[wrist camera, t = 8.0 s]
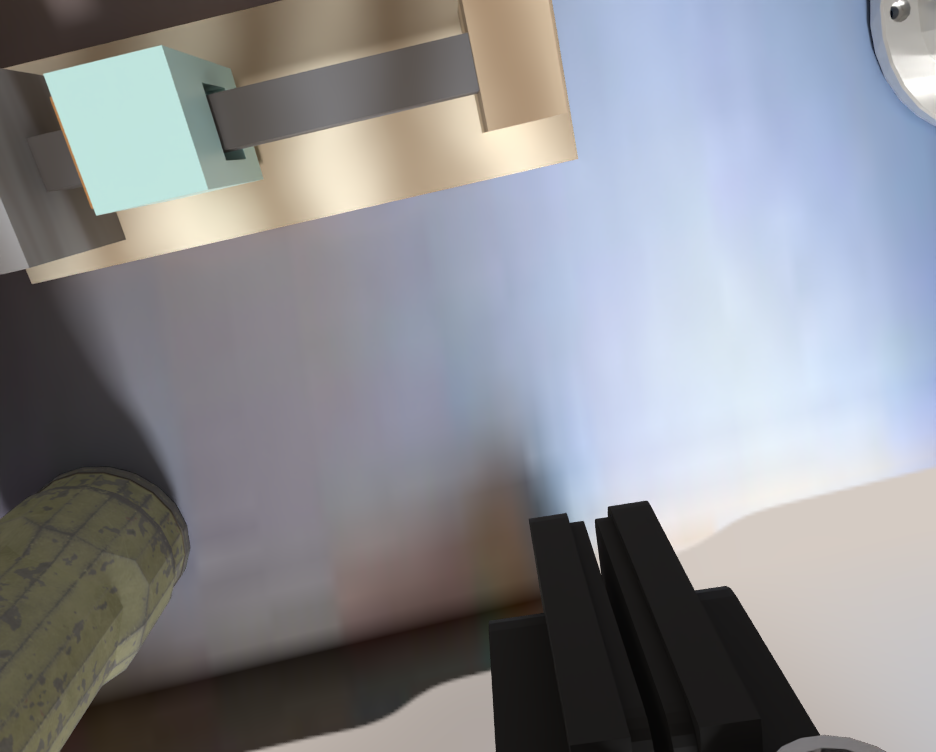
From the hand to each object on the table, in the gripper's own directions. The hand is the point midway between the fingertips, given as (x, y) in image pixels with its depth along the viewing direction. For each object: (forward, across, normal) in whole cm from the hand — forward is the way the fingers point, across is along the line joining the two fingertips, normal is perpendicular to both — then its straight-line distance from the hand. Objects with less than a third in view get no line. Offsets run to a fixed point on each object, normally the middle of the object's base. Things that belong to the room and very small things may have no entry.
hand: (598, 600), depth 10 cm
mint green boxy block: (+24, +12, -8) cm, 28 cm away
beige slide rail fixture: (+26, +9, -8) cm, 29 cm away
